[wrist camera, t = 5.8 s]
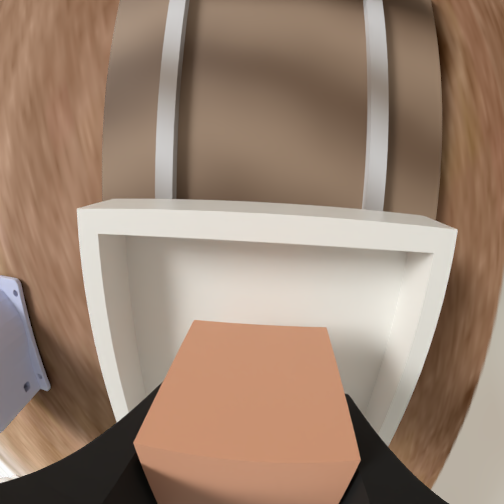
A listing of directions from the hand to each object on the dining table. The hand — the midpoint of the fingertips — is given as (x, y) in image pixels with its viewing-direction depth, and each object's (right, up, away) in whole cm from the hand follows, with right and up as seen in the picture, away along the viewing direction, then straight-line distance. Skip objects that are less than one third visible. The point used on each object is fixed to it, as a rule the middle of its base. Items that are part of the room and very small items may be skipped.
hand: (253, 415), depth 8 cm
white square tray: (0, +2, +6) cm, 6 cm away
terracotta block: (0, +1, +1) cm, 2 cm away
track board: (+1, +5, +7) cm, 8 cm away
